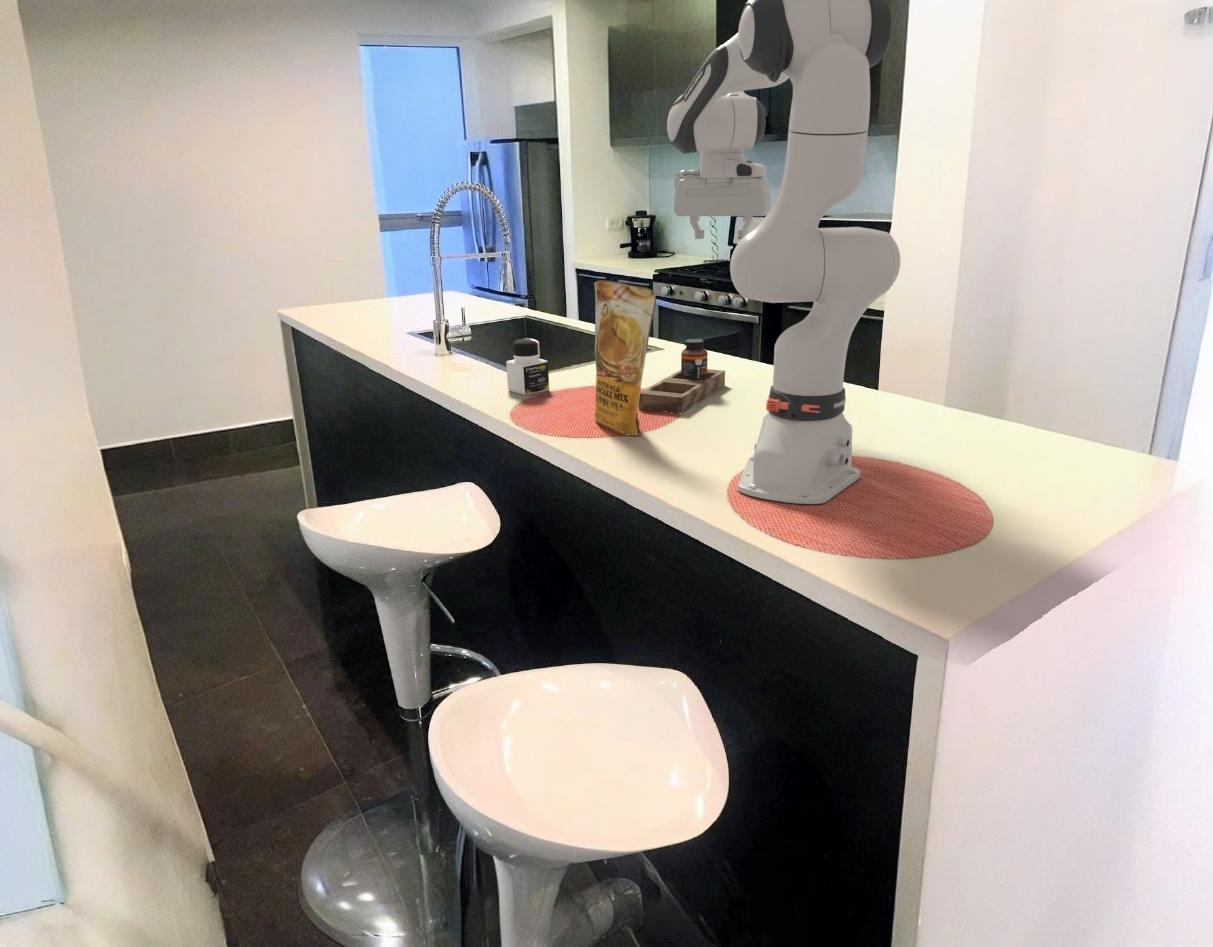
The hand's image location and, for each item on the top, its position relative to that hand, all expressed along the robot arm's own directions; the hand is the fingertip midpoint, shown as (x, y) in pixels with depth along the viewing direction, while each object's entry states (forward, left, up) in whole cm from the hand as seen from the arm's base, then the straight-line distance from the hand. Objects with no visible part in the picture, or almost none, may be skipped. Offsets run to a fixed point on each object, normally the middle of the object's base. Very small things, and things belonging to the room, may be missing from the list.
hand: (720, 238), depth 174 cm
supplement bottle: (+3, +7, -34) cm, 35 cm away
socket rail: (-3, +7, -34) cm, 35 cm away
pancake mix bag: (-29, +10, -34) cm, 46 cm away
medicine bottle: (-11, +43, -34) cm, 56 cm away
